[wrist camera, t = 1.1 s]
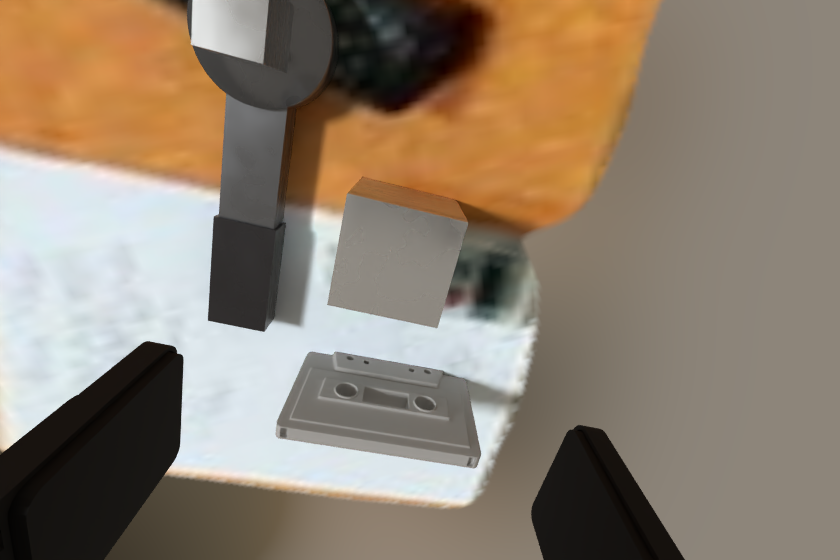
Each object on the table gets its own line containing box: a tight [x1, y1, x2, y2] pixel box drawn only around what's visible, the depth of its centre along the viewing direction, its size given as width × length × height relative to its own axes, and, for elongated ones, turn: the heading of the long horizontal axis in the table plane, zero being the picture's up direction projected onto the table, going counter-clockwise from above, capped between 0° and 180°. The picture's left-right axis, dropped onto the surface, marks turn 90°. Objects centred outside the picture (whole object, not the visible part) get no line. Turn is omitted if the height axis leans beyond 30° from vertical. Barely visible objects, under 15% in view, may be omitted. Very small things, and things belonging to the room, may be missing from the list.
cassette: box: [276, 352, 481, 468], centre depth 26 cm, size 12×2×8 cm, turn 78°
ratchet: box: [187, 0, 339, 332], centre depth 21 cm, size 20×7×6 cm, turn 166°
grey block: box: [327, 177, 469, 328], centre depth 23 cm, size 6×6×6 cm
